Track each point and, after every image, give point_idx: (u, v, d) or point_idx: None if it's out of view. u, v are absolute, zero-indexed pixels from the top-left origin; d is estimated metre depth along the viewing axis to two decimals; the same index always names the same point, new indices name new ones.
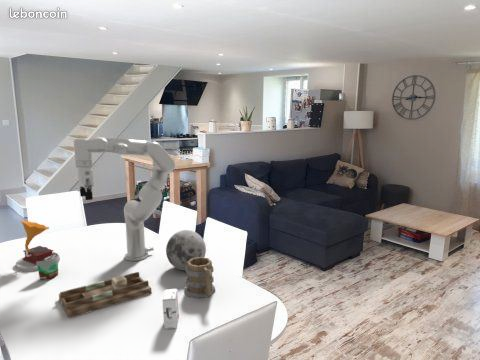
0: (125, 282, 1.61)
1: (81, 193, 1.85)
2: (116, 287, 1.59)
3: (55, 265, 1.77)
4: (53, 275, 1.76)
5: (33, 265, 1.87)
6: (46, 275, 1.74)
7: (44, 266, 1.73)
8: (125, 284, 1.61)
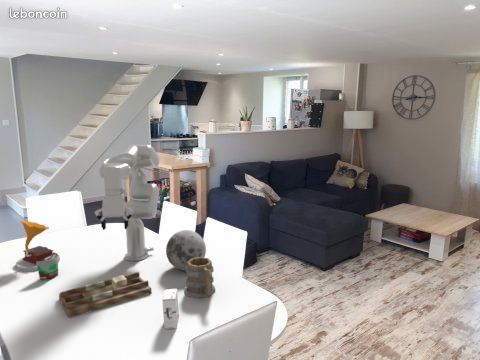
0: (125, 282, 1.61)
1: (104, 226, 1.68)
2: (116, 287, 1.59)
3: (55, 265, 1.77)
4: (53, 275, 1.76)
5: (33, 265, 1.87)
6: (46, 275, 1.74)
7: (44, 266, 1.73)
8: (125, 284, 1.61)
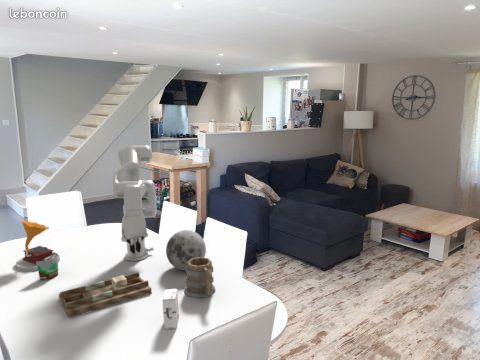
0: (125, 282, 1.61)
1: None
2: (116, 287, 1.59)
3: (55, 265, 1.77)
4: (53, 275, 1.76)
5: (33, 265, 1.87)
6: (46, 275, 1.74)
7: (44, 266, 1.73)
8: (125, 284, 1.61)
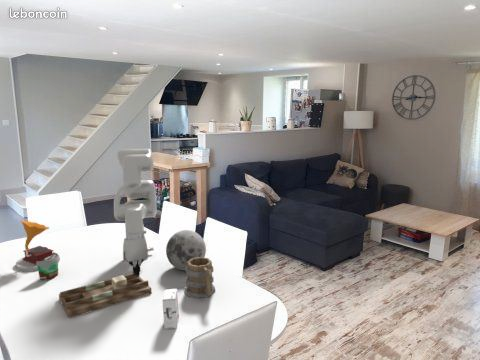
0: (125, 282, 1.61)
1: None
2: (116, 287, 1.59)
3: (55, 265, 1.77)
4: (53, 275, 1.76)
5: (33, 265, 1.87)
6: (46, 275, 1.74)
7: (44, 266, 1.73)
8: (125, 284, 1.61)
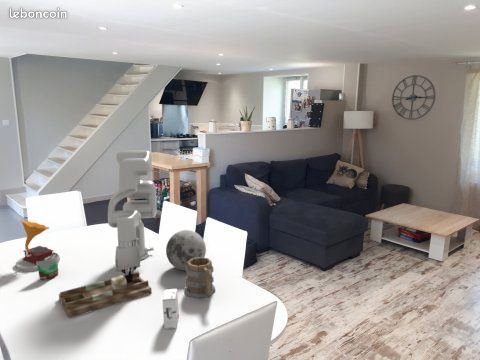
0: (124, 282, 1.61)
1: None
2: (115, 287, 1.59)
3: (55, 265, 1.77)
4: (53, 275, 1.76)
5: (33, 265, 1.87)
6: (46, 275, 1.74)
7: (44, 266, 1.73)
8: (124, 284, 1.61)
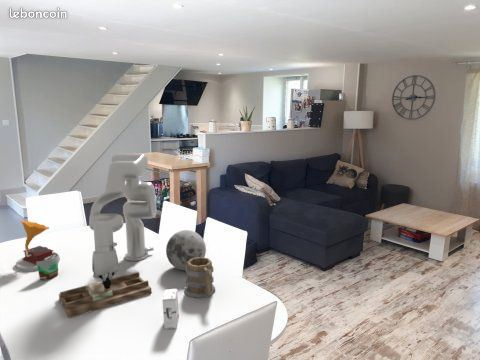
0: (102, 289, 1.55)
1: None
2: (93, 294, 1.53)
3: (55, 265, 1.77)
4: (53, 275, 1.76)
5: (33, 265, 1.87)
6: (46, 275, 1.74)
7: (44, 266, 1.73)
8: (102, 291, 1.55)
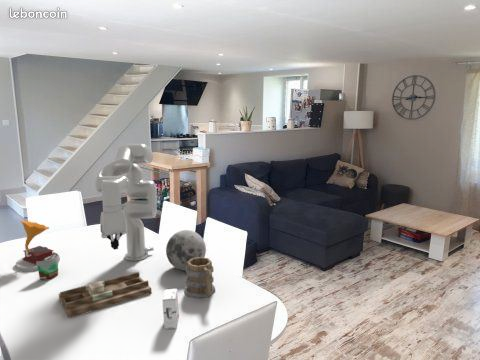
0: (102, 289, 1.55)
1: None
2: (93, 294, 1.53)
3: (55, 265, 1.77)
4: (53, 275, 1.76)
5: (33, 265, 1.87)
6: (46, 275, 1.74)
7: (44, 266, 1.73)
8: (102, 291, 1.55)
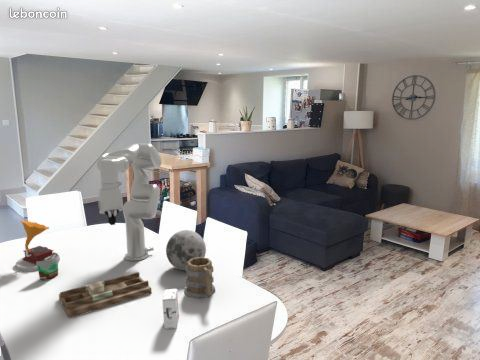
0: (102, 289, 1.55)
1: None
2: (93, 294, 1.53)
3: (55, 265, 1.77)
4: (53, 275, 1.76)
5: (33, 265, 1.87)
6: (46, 275, 1.74)
7: (44, 266, 1.73)
8: (102, 291, 1.55)
